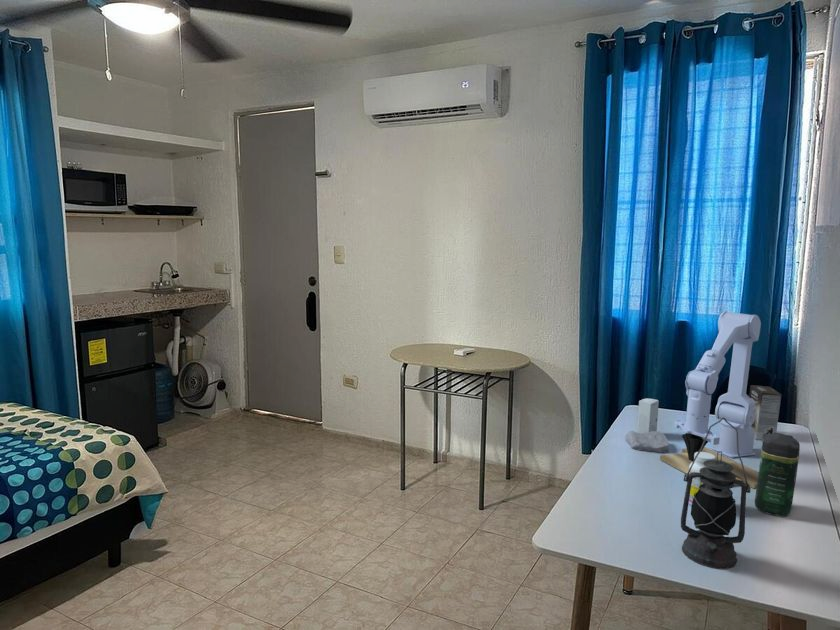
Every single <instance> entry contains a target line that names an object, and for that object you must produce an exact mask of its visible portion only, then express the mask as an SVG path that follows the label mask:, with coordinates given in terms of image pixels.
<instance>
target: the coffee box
mask: <svg viewBox="0 0 840 630" xmlns="http://www.w3.org/2000/svg"><path fill="white" fill-rule="evenodd" d="M748 396H749V397H750V398H751V399H752V400H753V401H754V402H755V413H756V415H755V420H754V423H753V424H752V425H751V427H752V428H753V430H754V440H756V441H757V440H758V441H760V440H761V441H763V440H764V438H765V437H766V436H767V435H769V434H773V433H777V429H778V425H779V424H778V422H779V417H780V416H779V415H780V407H781V399H782V394H781V393H780V392H778V391H777V390H776V389H774V388H773V387H771V386H763V385H757V384H756V385H755V384H754V385H753V384H751V385H749V394H748Z"/></svg>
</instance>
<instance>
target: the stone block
mask: <svg viewBox="0 0 840 630" xmlns="http://www.w3.org/2000/svg"><path fill="white" fill-rule="evenodd" d="M625 442H626V443H627V444H628V445H629V446H630V448H631V449H632V450H638V449H639V451H646V452H651V453H659V454H662V453H670V443H669V440H668V438H667V437H666V434H664V433H663V432H661V431H658V430H657V431H651V432H644V433H637V431H634V430H629V431H628V432H627V433H626V434H625Z"/></svg>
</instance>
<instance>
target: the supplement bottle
mask: <svg viewBox="0 0 840 630" xmlns="http://www.w3.org/2000/svg"><path fill="white" fill-rule="evenodd" d="M697 453H698V452H696V453H695V454H694V458H695V456H696V455H697ZM707 460H715V456H714V455H713V454H710V453H707V452H700V453H699V455H698V456H697V458H696V460H695V462H694V464H693V466H692V468H691V470H690V472H689V474H690V473H692V472H697V473H700V472H699V470H700V469H701V468H703V467H706V466H704V464H703V463H704V461H707ZM692 463H693V462H692ZM692 463H691V464H690V465H689V469H690V467H691V465H692ZM701 484H703V483H702V482H701V481H700V477H696V478H693V479H692V484H691V490H690V497H689V504H688V505H690V506H692V502H693V498H694V493H697V492H698V490H699V489H700V488H699V486H700V485H701ZM695 495H696V494H695Z"/></svg>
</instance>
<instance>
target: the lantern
mask: <svg viewBox="0 0 840 630" xmlns="http://www.w3.org/2000/svg"><path fill="white" fill-rule="evenodd" d="M722 419H724V420H725V422H726V423H728V424H729V425H730V426H731V427H733V428H734V429H735V430H736V436H737V453H738V456H739V457H738V459H739V461H740V464H742V468H743V473H744V477H745V481H746V484H745V483H744V482H743V481H741V480H737V479H736V476H735V474H733V473H732V472H730V471H733V469H734V468H733V466H732V465H730V464H728V463H726V462H724V461H721V460H722V455H723V454H722V451H716V452H717V460H707V461H704V463H703V464H704V466H706V467H703V468H701V469H700V470H699V472H700V473H697V472H692V473H690V474H689V472H690V470H691V468H692V466H693V464H694V462H695V460H696V458H697V456H698V455H699V453H700V452H701V450H702V448H703V446H704V443H705V441H706V438H707V436H708V434H709V431H710V432H711V429H712V427H714V426H716V425H717V424H719V422H721V420H722ZM704 447H705V446H704ZM720 452H721V453H720ZM718 453H720V454H721V460H720V461H719V460H718ZM743 465H744V463H743V461H742V456H741V457H740V454H739V448H738V430H737V429H736V428H735V427H734V426H732V425H731V424H730V423H729V422H727V420H726V419H725V418H721V419H720V421H719V420H718V421H716V422H714V423H713V424H711V425H710V426H708V432H707V434H706V437H705V439H704V442H703V444H702V446H701V449H700V450H699V452H698V453H697V455H696V456H695V458H694V461H693V463H692V465H691V467H690V469H689V471H688V473H684V476H683V481H684V482H686V485H685V491H684V497H683V498H684V499H683V504H682V509H681V515H680V516H681V517H680V528H681V531H683V532H685V533H687V537H686V538H685V539H684V540H683V542H682V546H681V552H682V553H683V555H684V556H685V557H687V559H689V560H690V561H693V562H694V563H696V564H699V565H701V566H704V567H708V568H710V569H711V568H712V569H719V570H726V569H731V568H734V567H735V566H736V565H738V558H737V556H738V555H737V551H735V545H734V544H739V543H740V544H741V543H742V542H743V541H744V539H745V538H744V537H745V534H746V532H745V529H746V512H747V511H746V510H747V509H746V507H747V493H748V494H751V488H752V487H750V485H749V484H748V483H747V479H746V474H745V470H744V466H745V465H744V466H743ZM696 477H700V481H701V482H702V483H703V484H701V485H700V486H699V488H700V489H699V490H698V492H697V493H694V498H693V502H692V506H691V505H690V504H689V497H690V490H691V484H692V479H693V478H696ZM734 484H738V485H737V486H739V487H740V492H741V493H740V507H739V508H740V509H739V525H738V534H737V536H729V535H730V533H731V530H733V528H734V527H735V526H736V522H737V504H736V499H735V498H733V494H734V493H733V490H732V489H733V488H734V486H735V485H734ZM695 494H696V495H695ZM689 505H690V506H691V509H690V516H691V518H692V520H693V525H694V527H695V529H696V530H695V529H693V528H691V527H689V526H687V524H686V523H687V516H688V509H689Z"/></svg>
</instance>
